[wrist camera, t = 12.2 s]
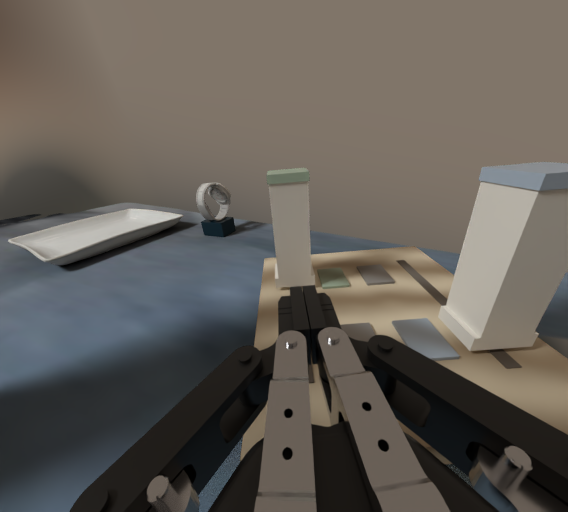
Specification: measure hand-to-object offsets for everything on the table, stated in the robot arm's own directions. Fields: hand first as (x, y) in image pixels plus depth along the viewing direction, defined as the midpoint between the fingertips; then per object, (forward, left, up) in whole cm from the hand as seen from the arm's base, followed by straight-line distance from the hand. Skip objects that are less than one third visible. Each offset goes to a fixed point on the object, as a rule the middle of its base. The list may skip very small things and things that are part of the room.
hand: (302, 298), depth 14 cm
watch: (+31, +28, -9) cm, 43 cm away
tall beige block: (+11, +4, -6) cm, 14 cm away
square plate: (+24, +56, -9) cm, 62 cm away
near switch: (+7, -12, -6) cm, 15 cm away
